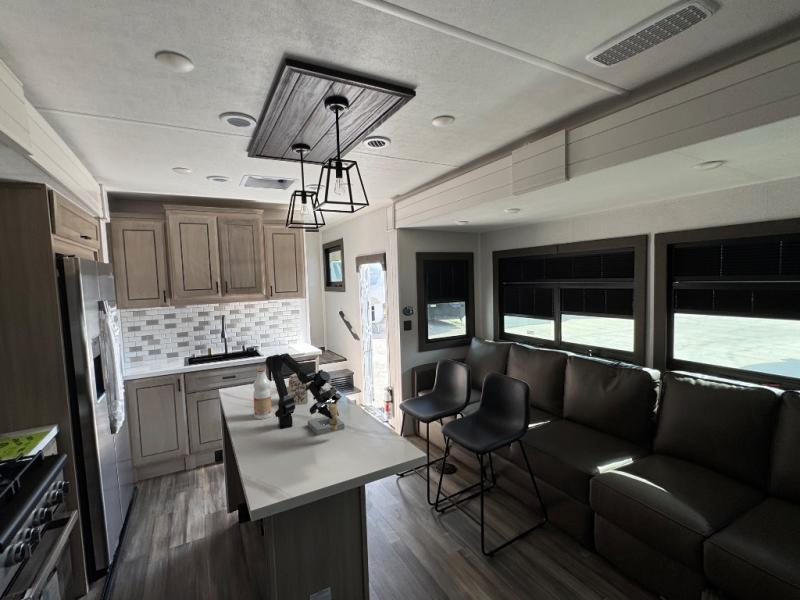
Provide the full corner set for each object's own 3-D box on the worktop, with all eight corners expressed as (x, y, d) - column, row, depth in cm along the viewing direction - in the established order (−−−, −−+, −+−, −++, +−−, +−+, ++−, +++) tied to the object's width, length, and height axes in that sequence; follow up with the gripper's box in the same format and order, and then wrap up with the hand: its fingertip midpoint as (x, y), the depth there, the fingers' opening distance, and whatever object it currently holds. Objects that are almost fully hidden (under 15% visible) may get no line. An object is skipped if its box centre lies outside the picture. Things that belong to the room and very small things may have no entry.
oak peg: (331, 432, 182) (330, 407, 181) (328, 429, 186) (327, 404, 185) (339, 430, 185) (338, 405, 184) (335, 427, 188) (335, 403, 187)
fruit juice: (262, 420, 210) (260, 372, 208) (250, 417, 215) (248, 370, 213) (275, 414, 219) (273, 368, 217) (263, 412, 223) (261, 366, 221)
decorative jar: (288, 405, 234) (287, 377, 232) (289, 399, 245) (288, 372, 244) (308, 403, 237) (307, 376, 235) (308, 397, 248) (307, 371, 247)
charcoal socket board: (317, 435, 190) (317, 430, 190) (307, 425, 203) (307, 420, 202) (344, 428, 198) (344, 423, 198) (333, 419, 211) (333, 414, 210)
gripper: (313, 387, 177) (331, 414, 173) (338, 377, 194) (355, 402, 189) (301, 401, 182) (319, 427, 177) (327, 390, 198) (343, 414, 193)
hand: (335, 417), depth 184 cm, fingers closed on oak peg, 4 cm apart
